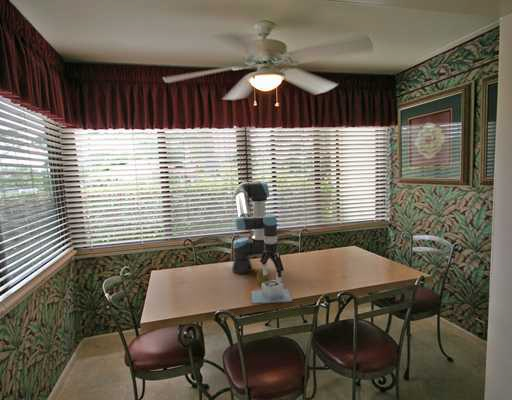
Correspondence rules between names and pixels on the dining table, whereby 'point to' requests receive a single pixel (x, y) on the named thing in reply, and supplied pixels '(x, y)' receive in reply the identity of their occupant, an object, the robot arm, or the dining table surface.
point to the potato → (262, 277)
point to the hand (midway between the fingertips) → (271, 278)
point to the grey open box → (272, 290)
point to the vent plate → (259, 298)
